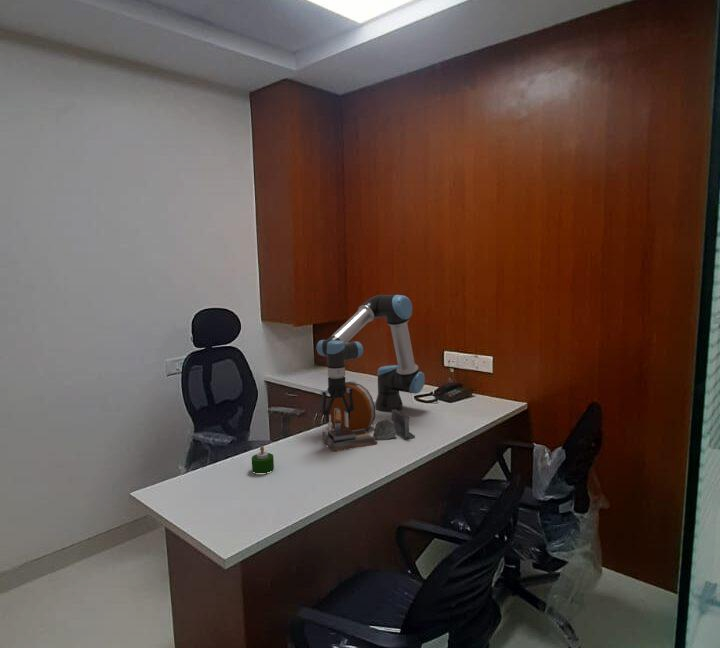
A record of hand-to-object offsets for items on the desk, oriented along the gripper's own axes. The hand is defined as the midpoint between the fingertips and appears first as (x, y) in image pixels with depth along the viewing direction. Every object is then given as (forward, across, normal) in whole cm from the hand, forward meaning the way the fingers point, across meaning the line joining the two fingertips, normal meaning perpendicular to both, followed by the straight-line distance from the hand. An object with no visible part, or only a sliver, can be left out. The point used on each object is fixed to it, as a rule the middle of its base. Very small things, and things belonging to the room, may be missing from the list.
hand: (338, 427), depth 213 cm
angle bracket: (+8, +32, 0) cm, 32 cm away
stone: (+8, +22, 0) cm, 24 cm away
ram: (+6, +1, 0) cm, 6 cm away
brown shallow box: (+8, +5, 0) cm, 9 cm away
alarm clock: (+8, +14, +19) cm, 25 cm away
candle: (+8, -36, -14) cm, 39 cm away
